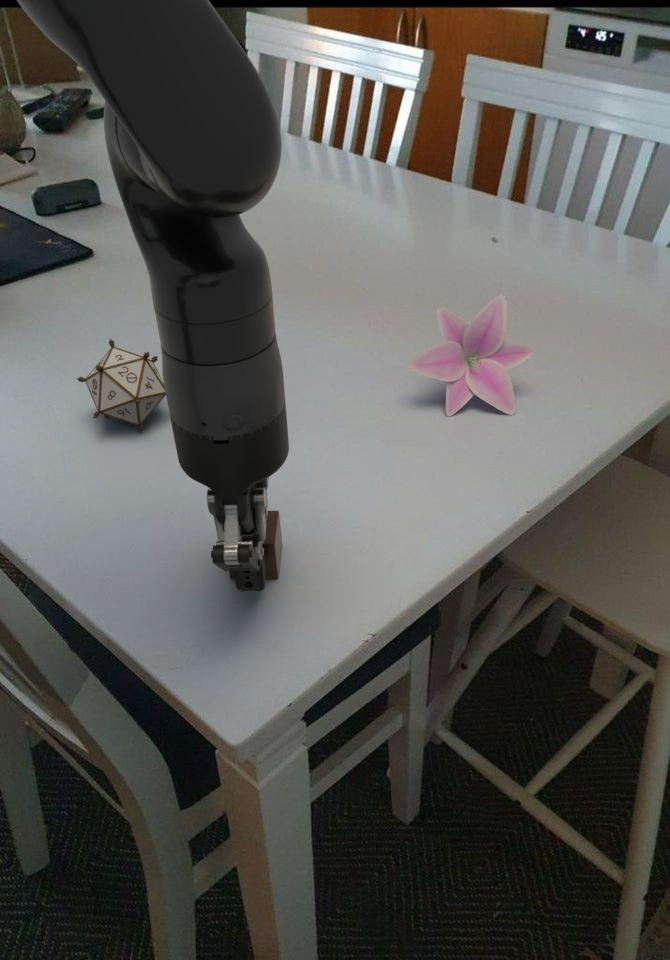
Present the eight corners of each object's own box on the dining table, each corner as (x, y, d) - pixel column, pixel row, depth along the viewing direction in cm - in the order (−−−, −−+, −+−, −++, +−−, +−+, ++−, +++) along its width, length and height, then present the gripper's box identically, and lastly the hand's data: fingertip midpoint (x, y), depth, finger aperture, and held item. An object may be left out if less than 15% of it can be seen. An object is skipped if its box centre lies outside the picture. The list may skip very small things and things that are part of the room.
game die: (159, 442, 87) (205, 379, 82) (99, 459, 80) (145, 391, 74) (110, 381, 88) (152, 315, 83) (47, 393, 81) (88, 321, 76)
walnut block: (229, 579, 66) (223, 544, 63) (235, 545, 69) (230, 510, 66) (278, 579, 66) (274, 544, 63) (282, 545, 69) (279, 510, 66)
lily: (388, 408, 86) (407, 362, 77) (425, 323, 90) (447, 271, 81) (493, 452, 85) (524, 412, 76) (525, 365, 90) (557, 316, 81)
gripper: (184, 347, 57) (214, 528, 68) (149, 462, 47) (191, 652, 58) (290, 345, 57) (303, 526, 68) (278, 460, 47) (295, 651, 58)
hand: (251, 584), depth 63 cm, fingers closed
